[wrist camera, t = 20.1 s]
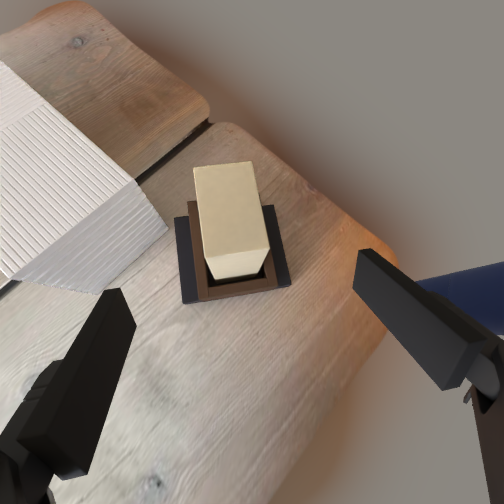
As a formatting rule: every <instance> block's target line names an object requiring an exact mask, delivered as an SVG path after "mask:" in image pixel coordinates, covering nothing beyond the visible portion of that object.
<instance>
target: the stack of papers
mask: <svg viewBox="0 0 504 504" xmlns="http://www.w3.org/2000/svg"><path fill="white" fill-rule="evenodd" d="M167 230H169V228H168V227H167V225H166V224H165V223H164V221H163V220H162V218H161V217H160V216H159V214H158V213H157V211H156V210H155V208H154V207H153V205H152V204H151V203H150V201H149V200H148V198H147V197H146V195H145V194H144V193H143V192H142V190H141V188H140V187H139V186H138V184H137V183H136V181H135V180H134V179H133V178H132V177H131V176H130V175H129V174H128V173H127V172H126V171H124V170H123V169H122V168H121V167H120V166H119V165H118V164H117V163H116V162H114V161H113V160H112V159H111V158H110V157H109V156H108V155H107V154H105V153H104V152H103V151H102V150H101V149H100V148H99V147H98V146H97V145H95V144H94V143H93V142H92V141H91V140H90V139H89V138H88V137H86V136H85V135H84V134H83V133H82V132H81V131H80V130H79V129H78V128H76V127H75V126H74V125H73V124H72V123H71V122H70V121H69V120H67V119H66V118H65V117H64V116H63V115H62V114H61V113H60V112H59V111H57V110H56V109H55V108H54V107H53V106H52V105H51V104H50V103H48V102H47V101H46V100H45V99H44V98H43V97H42V96H41V95H39V94H38V93H37V92H36V91H35V90H34V89H33V88H32V87H31V86H29V85H28V84H27V83H26V82H25V81H24V80H23V79H22V78H20V77H19V76H18V75H17V74H16V73H15V72H14V71H13V70H12V69H10V68H9V67H8V66H7V65H6V64H5V63H4V62H3V61H1V60H0V269H1V270H2V272H3V273H4V274H5V275H6V276H7V277H8V278H9V279H13V280H19V281H20V280H22V281H24V282H29V283H31V282H33V283H34V284H40V285H41V284H43V285H45V286H52V287H55V288H59V287H60V288H61V289H67V290H71V291H73V290H74V291H76V292H82V293H87V294H92V295H97V294H98V293H99V292H101V291H102V290H103V289H104V288H105V287H106V286H107V285H108V284H109V283H110V282H112V281H113V280H114V279H115V278H116V277H117V276H118V275H119V274H120V273H121V272H123V271H124V270H125V269H126V268H127V267H128V266H129V265H130V264H131V263H132V262H133V261H135V260H136V259H137V258H138V257H139V256H140V255H141V254H142V253H143V252H144V251H146V250H147V249H148V248H149V247H150V246H151V245H152V244H153V243H154V242H155V241H156V240H158V239H159V238H160V237H161V236H162V235H163V234H164V233H165V232H166V231H167Z"/></svg>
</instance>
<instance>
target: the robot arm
mask: <svg viewBox="0 0 504 504" xmlns="http://www.w3.org/2000/svg"><path fill="white" fill-rule="evenodd" d="M352 288H353V290H354V291H355V292H356V293H357V294H358V295H359V296H360V298H361V299H362V300H363V301H364V302H365V303H366V304H367V306H368V307H369V308H370V309H371V310H372V311H373V312H374V314H375V315H376V316H377V317H378V318H379V319H380V320H381V322H382V323H383V324H384V325H385V326H386V327H387V328H388V330H389V331H390V332H391V333H392V334H393V335H394V336H395V338H396V339H397V340H398V341H399V342H400V343H401V344H402V346H403V347H404V348H405V349H406V350H407V351H408V352H409V354H410V355H411V356H412V357H413V358H414V359H415V360H416V362H417V363H418V364H419V365H420V366H421V367H422V368H423V370H424V371H425V372H426V373H427V374H428V375H429V376H430V377H431V379H432V380H433V381H434V382H435V383H436V384H437V385H438V387H439V388H440V389H441V390H442V391H444V390H448V389H452V388H457V387H460V385H461V383H462V382H463V380H464V378H465V377H466V378H467V379H468V380H469V381H470V382H471V383H472V386H471V387H470V389H469V390H468V392H467V393H466V395H465V397H464V400H463V402H464V403H468V401H469V400H470V398H471V397H472V403H473V404H472V406H473V409H474V414H475V420H476V425H477V431H478V436H479V441H480V447H481V453H482V459H483V464H484V470H485V475H486V481H487V486H488V492H489V497H490V503H491V504H504V340H503V339H501V338H500V337H498V336H497V335H496V334H494V333H493V332H491V331H490V330H489V329H487V328H486V327H485V326H483V325H482V324H481V323H479V322H478V321H477V320H475V319H474V318H473V317H471V316H470V315H468V314H467V313H465V312H464V311H463V310H462V309H460V308H459V307H456V305H455V304H454V303H452V302H451V301H450V300H448V299H447V298H445V297H444V296H442V295H439V294H437V293H435V292H433V291H428V292H427V291H426V290H425V289H423V288H422V287H421V286H419V285H418V284H417V283H415V282H414V281H413V280H411V279H410V278H409V277H408V276H406V275H405V274H404V273H403V272H401V271H400V270H399V269H397V268H396V267H395V266H393V265H392V264H391V263H390V262H388V261H387V260H386V259H384V258H383V257H382V256H381V255H379V254H378V253H377V252H375V251H374V250H373V249H371V248H369V249H363V250H359V251H358V257H357V263H356V269H355V275H354V281H353V287H352ZM136 327H137V325H136V323H135V321H134V319H133V316H132V314H131V312H130V309H129V307H128V305H127V302H126V300H125V298H124V296H123V293H122V291H121V289H120V288H114V289H108V290H104V291H103V293H102V295H101V297H100V298H99V300H98V302H97V303H96V305H95V307H94V308H93V310H92V312H91V313H90V315H89V317H88V318H87V320H86V322H85V324H84V325H83V327H82V329H81V330H80V332H79V334H78V335H77V337H76V339H75V340H74V342H73V344H72V345H71V347H70V349H69V350H68V352H67V354H66V356H65V357H64V359H62V360H57V361H53V362H52V363H51V364H50V365H49V366H48V367H47V368H46V369H45V370H44V371H43V372H42V373H41V374H40V375H39V376H38V378H37V379H36V381H35V382H34V384H33V386H32V387H31V390H30V391H29V392H28V393H27V395H26V396H25V398H24V399H23V400H24V401H23V402H22V403H21V404H20V406H19V407H18V409H17V410H16V412H15V413H14V415H13V416H12V418H11V419H10V421H9V422H8V424H7V426H6V427H5V429H4V430H3V432H2V433H1V435H0V504H56V502H55V499H54V496H53V493H52V491H51V490H50V488H49V487H48V486H49V484H50V482H51V479H52V477H53V475H54V474H55V475H57V476H58V477H59V478H60V479H61V480H62V481H63V480H67V479H72V478H76V477H80V476H84V475H87V474H88V471H89V468H90V465H91V462H92V459H93V456H94V453H95V450H96V447H97V444H98V441H99V438H100V435H101V432H102V429H103V426H104V423H105V420H106V417H107V414H108V411H109V408H110V405H111V402H112V399H113V396H114V393H115V390H116V387H117V384H118V381H119V378H120V375H121V372H122V369H123V366H124V363H125V360H126V357H127V354H128V351H129V348H130V345H131V342H132V339H133V336H134V333H135V330H136Z"/></svg>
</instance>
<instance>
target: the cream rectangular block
mask: <svg viewBox="0 0 504 504" xmlns="http://www.w3.org/2000/svg"><path fill="white" fill-rule="evenodd" d="M193 172H194V180H195V187H196V195H197V203H198V210H199V218H200V226H201V233H202V241H203V249H204V256H205V259H206V262H207V264H208V266H209V268H210V270H211V272H212V274H213V277H214V279H215V281H216V283H217V284H218V283H224V282H230V281H236V280H242V279H248V278H254V277H256V276H257V274H258V272H259V270H260V267H261V265H262V263H263V261H264V259H265V257H266V255H267V253H268V251H269V249H270V246H269V241H268V236H267V231H266V227H265V222H264V217H263V212H262V207H261V203H260V198H259V193H258V188H257V183H256V179H255V174H254V169H253V164H252V161H246V162H236V163H227V164H218V165H209V166H199V167H193Z"/></svg>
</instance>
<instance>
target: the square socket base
mask: <svg viewBox="0 0 504 504" xmlns="http://www.w3.org/2000/svg"><path fill="white" fill-rule="evenodd" d="M259 198H260V195H259ZM260 203H261V200H260ZM187 205H188V213H189V216H183V217H176V218H174V223H175V233H176V243H177V253H178V263H179V272H180V282H181V292H182V302H183V304H191V303H197V302H205V301H211V300H217V299H223V298H228V297H234V296H240V295H245V294H251V293H257V292H263V291H268V290H274V289H277V288H283V287H288V286H290V285H291V280H290V275H289V271H288V266H287V262H286V258H285V253H284V249H283V244H282V240H281V235H280V231H279V226H278V222H277V217H276V213H275V209H274V205H266V206H262V205H261V207H262V212H263V217H264V222H265V227H266V231H267V236H268V241H269V246H270V249H269V251H268V253H267V255H266V257H265V259H264V261H263V263H262V265H261V267H260V270H259V272H258V274H257V276H256V277H254V278H248V279H242V280H236V281H230V282H224V283H218V284H217V283H216V281H215V279H214V277H213V274H212V272H211V270H210V268H209V266H208V264H207V262H206V259H205V256H204V249H203V241H202V233H201V226H200V218H199V210H198V203H197V201H188V202H187Z"/></svg>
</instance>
